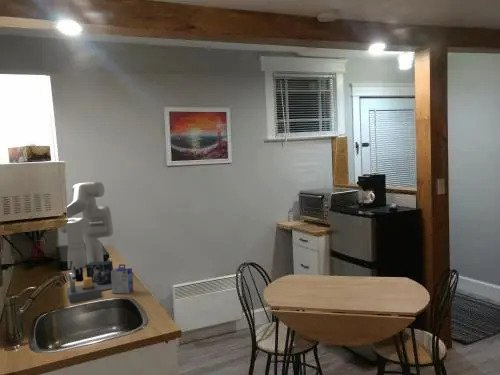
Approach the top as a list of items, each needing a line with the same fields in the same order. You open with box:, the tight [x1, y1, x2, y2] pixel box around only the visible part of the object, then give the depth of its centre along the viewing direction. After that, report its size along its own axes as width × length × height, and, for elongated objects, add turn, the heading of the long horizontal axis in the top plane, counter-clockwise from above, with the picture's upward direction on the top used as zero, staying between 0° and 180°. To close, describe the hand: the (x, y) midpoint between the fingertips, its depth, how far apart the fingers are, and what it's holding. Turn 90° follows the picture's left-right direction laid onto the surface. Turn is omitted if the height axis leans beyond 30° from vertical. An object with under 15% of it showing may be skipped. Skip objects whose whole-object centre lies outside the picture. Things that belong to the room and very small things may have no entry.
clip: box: [66, 271, 76, 283], centre depth 224 cm, size 15×4×2 cm, turn 28°
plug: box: [82, 276, 93, 290], centre depth 233 cm, size 5×5×9 cm
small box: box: [85, 260, 114, 286], centre depth 253 cm, size 13×7×12 cm, turn 90°
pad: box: [98, 283, 112, 292], centre depth 244 cm, size 9×9×1 cm
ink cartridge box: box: [111, 263, 134, 294], centre depth 235 cm, size 10×6×14 cm, turn 78°
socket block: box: [66, 277, 102, 304], centre depth 232 cm, size 14×15×11 cm
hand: (79, 281), depth 222 cm, fingers closed
